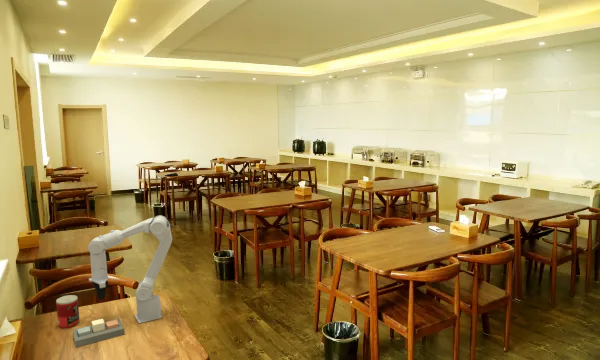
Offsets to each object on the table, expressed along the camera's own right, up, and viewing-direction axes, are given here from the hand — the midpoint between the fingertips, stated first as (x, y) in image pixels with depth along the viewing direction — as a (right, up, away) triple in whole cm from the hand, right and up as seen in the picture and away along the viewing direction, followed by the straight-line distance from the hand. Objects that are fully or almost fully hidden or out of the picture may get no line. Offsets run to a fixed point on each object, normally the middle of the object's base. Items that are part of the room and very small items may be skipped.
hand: (101, 298), depth 170 cm
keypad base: (+3, -12, -9) cm, 15 cm away
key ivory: (+3, -9, -9) cm, 13 cm away
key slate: (-1, -12, -12) cm, 16 cm away
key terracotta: (+7, -11, -6) cm, 15 cm away
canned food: (-13, -11, 0) cm, 17 cm away
